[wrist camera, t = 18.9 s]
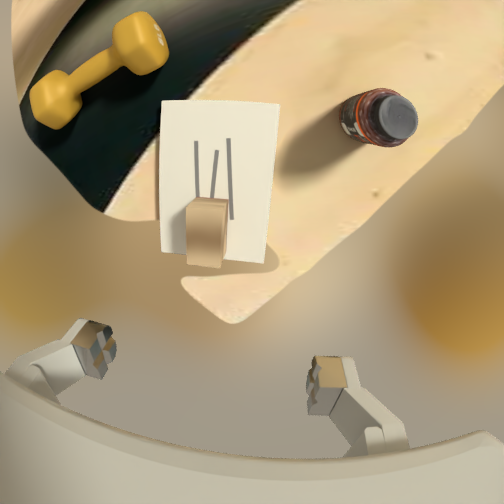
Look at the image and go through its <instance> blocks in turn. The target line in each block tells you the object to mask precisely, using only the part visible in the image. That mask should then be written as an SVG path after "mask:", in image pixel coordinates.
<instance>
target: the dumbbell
mask: <svg viewBox="0 0 504 504" xmlns="http://www.w3.org/2000/svg"><path fill="white" fill-rule="evenodd" d="M112 40H113V45H112V46H111V47H110V48H108V49H106V50H104V51H102V52H100V53H98V54H97V55H95V56H94V57H92V58H91V59H89V60H88V61H87V62H85V63H84V64H82V65H81V66H80V67H78V68H77V69H76V70H75V71H74V72H73V73H72V74H71V75H68V74H66V73H65V72H63V71H60V70H54V71H52V72H50V73H49V74H47V75H46V76H44V77H43V78H42V79H41V80H40V81H38V82H37V83H36V84H35V85H34V86H33V87H32V89H31V90H30V102H31V107H32V111H33V115H34V117H35V118H36V120H38V121H39V122H41V123H42V124H44V125H46V126H48V127H50V128H53V129H60V128H62V127H63V126H65V125H66V124H67V123H68V122H70V121H71V120H72V119H73V118H74V117H75V115H76V114H77V113H78V112H79V110H80V109H81V107H82V98H81V94H80V93H81V92H83V91H85V90H87V89H88V88H90V87H92V86H93V85H95V84H96V83H98V82H100V81H101V80H103V79H104V78H106V77H107V76H109V75H110V74H112V73H113V72H114V71H116V70H117V69H118V68H120V67H121V66H126V67H127V68H129V69H130V70H131V71H132V72H133V73H135V74H137V75H145V74H148V73H150V72H152V71H154V70H156V69H158V68H160V67H161V66H163V65H164V64H165V62H166V61H167V59H168V57H169V50H168V46H167V43H166V40H165V37H164V34H163V32H162V30H161V29H160V27H159V26H158V24H157V23H156V22H155V21H154V19H153V18H152V17H151V16H150V15H149V14H148V13H146V12H142V11H141V12H136V13H133V14H131V15H129V16H127V17H126V18H124V19H122V20H121V21H119V22H118V23H117V24H116V25H115V26H114V28H113V31H112Z"/></svg>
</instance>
